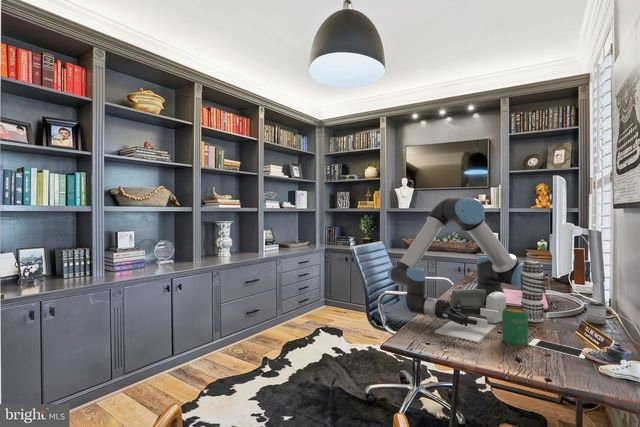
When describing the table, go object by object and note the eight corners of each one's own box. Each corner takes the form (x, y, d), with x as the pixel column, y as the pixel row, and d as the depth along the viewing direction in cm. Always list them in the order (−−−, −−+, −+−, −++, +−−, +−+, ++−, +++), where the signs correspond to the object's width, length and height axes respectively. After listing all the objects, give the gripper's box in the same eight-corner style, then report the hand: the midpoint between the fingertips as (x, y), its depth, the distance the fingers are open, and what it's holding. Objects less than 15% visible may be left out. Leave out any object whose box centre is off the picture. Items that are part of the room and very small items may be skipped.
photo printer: (497, 317, 152) (497, 289, 152) (507, 320, 149) (507, 291, 149) (484, 321, 147) (484, 292, 147) (494, 324, 143) (494, 295, 143)
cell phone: (534, 340, 128) (534, 338, 128) (588, 353, 116) (588, 351, 116) (527, 345, 122) (527, 344, 122) (584, 360, 111) (584, 358, 111)
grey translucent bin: (483, 309, 165) (483, 287, 165) (489, 315, 156) (489, 291, 156) (447, 308, 167) (447, 286, 167) (451, 313, 158) (451, 290, 158)
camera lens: (608, 322, 145) (609, 304, 144) (601, 325, 142) (601, 306, 141) (591, 318, 150) (591, 300, 150) (583, 320, 147) (583, 302, 147)
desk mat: (456, 318, 151) (456, 317, 151) (495, 326, 141) (495, 325, 141) (434, 332, 135) (434, 331, 135) (478, 343, 124) (478, 341, 124)
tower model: (545, 323, 144) (546, 263, 143) (520, 320, 148) (520, 262, 148) (544, 317, 152) (544, 260, 151) (519, 314, 156) (519, 259, 156)
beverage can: (522, 339, 127) (522, 306, 127) (531, 347, 120) (531, 313, 119) (499, 337, 129) (499, 305, 129) (506, 346, 121) (506, 312, 121)
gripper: (449, 310, 152) (502, 321, 138) (424, 325, 134) (482, 339, 120) (449, 293, 152) (502, 302, 138) (424, 306, 134) (482, 317, 119)
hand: (493, 319), depth 129 cm, fingers open, 13 cm apart
